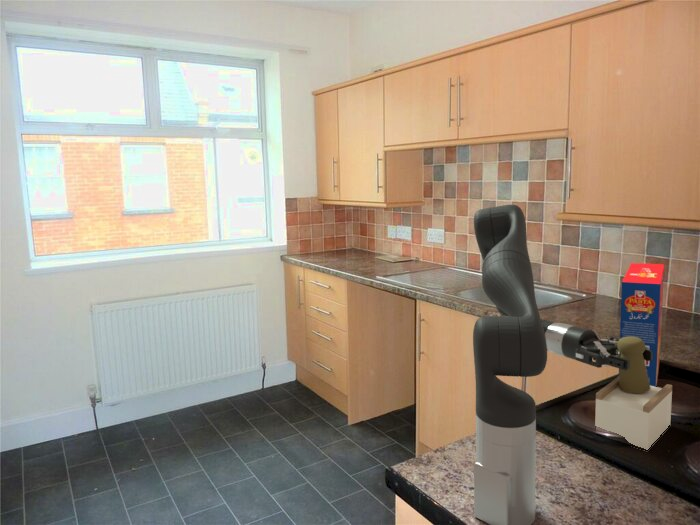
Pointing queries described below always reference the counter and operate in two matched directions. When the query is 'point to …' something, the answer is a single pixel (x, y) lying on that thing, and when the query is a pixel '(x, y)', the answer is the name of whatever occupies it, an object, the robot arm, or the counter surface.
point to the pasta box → (643, 310)
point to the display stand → (634, 413)
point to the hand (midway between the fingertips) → (640, 360)
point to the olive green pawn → (633, 365)
